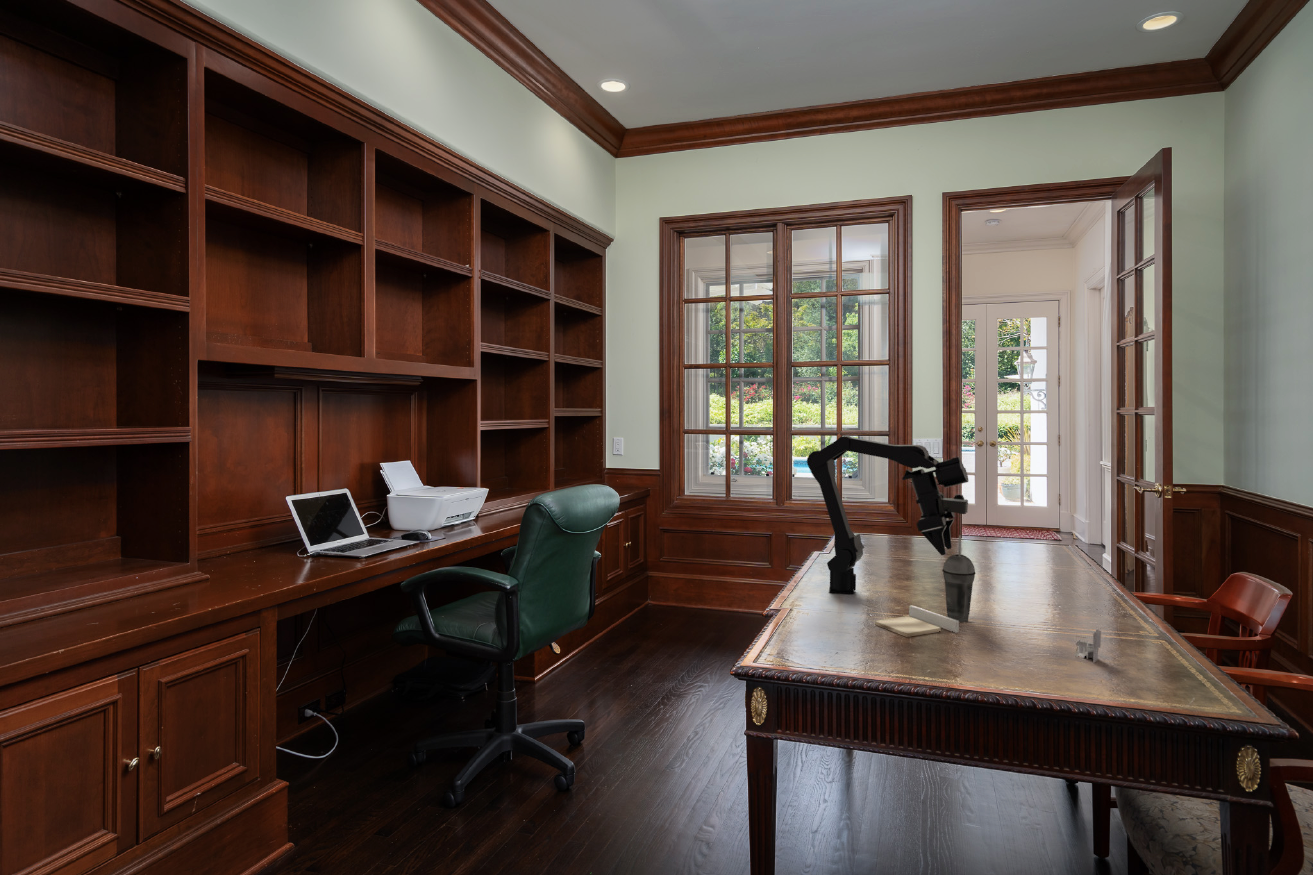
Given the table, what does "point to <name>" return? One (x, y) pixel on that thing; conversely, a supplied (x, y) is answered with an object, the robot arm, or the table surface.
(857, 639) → the table surface
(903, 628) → the coaster
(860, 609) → the table surface
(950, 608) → the beverage cup
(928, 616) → the divider wall
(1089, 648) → the architectural model
